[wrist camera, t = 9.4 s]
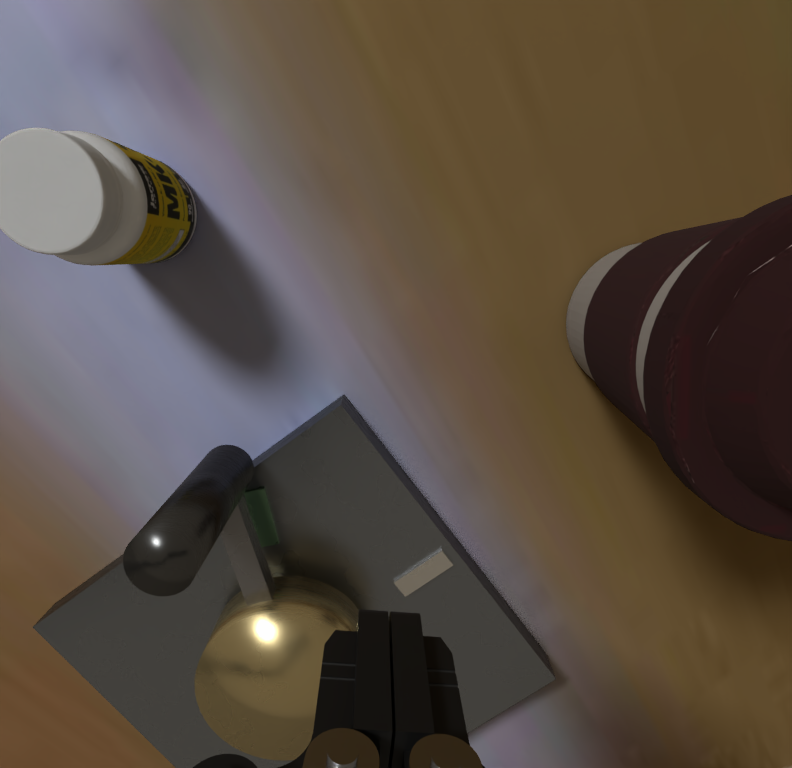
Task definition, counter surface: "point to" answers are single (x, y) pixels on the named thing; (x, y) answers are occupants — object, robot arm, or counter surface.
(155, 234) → the supplement bottle
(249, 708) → the cam capstan
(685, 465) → the coffee cup
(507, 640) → the stand
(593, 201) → the counter surface
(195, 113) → the counter surface
